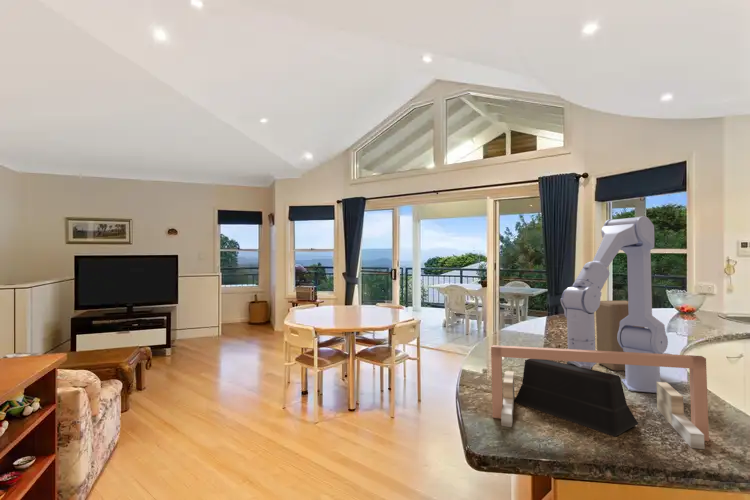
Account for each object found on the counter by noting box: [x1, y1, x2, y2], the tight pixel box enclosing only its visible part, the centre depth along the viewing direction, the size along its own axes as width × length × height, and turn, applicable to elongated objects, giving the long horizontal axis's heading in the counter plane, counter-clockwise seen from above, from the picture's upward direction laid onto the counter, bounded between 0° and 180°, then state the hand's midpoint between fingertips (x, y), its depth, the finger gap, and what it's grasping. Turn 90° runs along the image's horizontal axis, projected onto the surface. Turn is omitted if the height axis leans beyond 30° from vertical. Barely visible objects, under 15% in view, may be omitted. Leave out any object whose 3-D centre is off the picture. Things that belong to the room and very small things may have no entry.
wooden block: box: [595, 300, 646, 372], centre depth 128 cm, size 10×10×20 cm
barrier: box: [514, 358, 639, 438], centre depth 90 cm, size 24×9×10 cm, turn 32°
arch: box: [490, 344, 710, 442], centre depth 83 cm, size 2×38×15 cm, turn 70°
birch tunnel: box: [500, 370, 705, 450], centre depth 88 cm, size 20×34×6 cm, turn 70°
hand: (582, 398), depth 96 cm, fingers open, 7 cm apart
